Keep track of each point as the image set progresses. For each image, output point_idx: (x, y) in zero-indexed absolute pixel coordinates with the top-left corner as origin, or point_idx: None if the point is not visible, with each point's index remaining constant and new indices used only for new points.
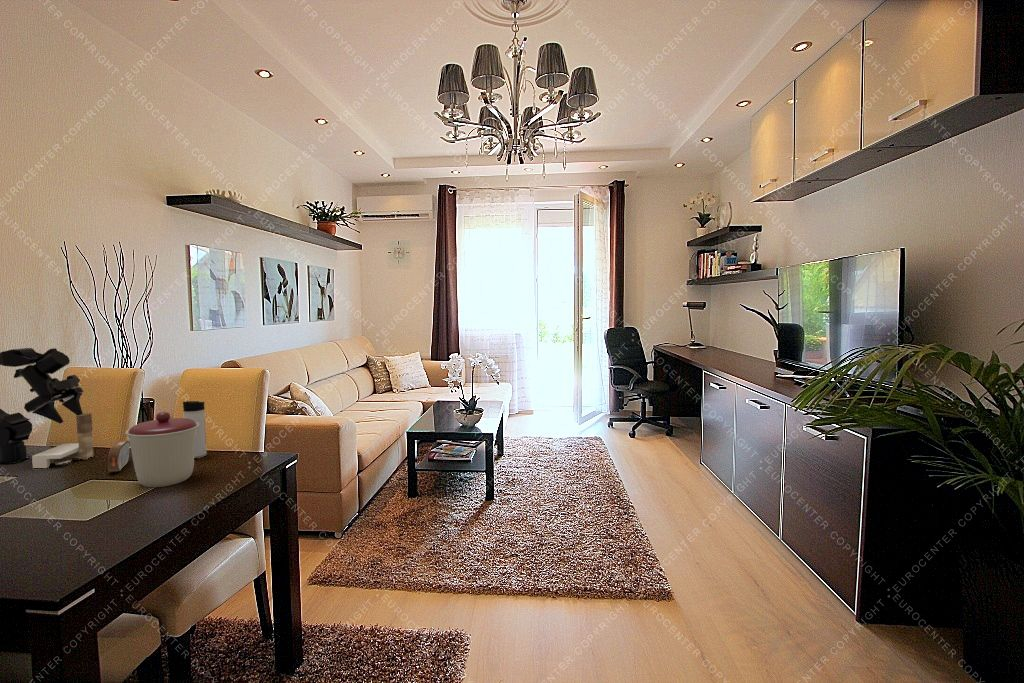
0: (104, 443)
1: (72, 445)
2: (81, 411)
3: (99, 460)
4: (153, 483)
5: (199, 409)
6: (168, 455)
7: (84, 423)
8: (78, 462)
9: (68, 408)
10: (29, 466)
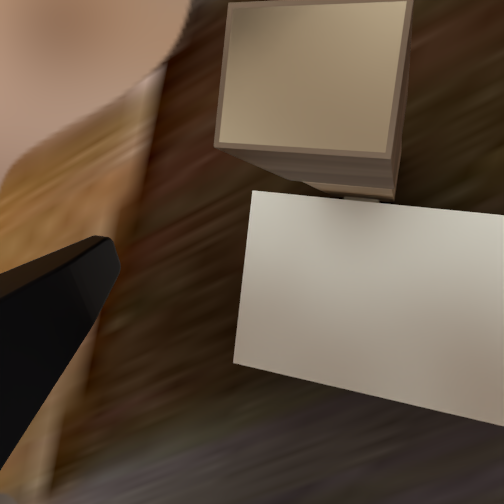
0: (48, 247)
1: (306, 279)
2: (58, 255)
3: (427, 70)
4: None
5: None
6: None
7: (408, 68)
8: (442, 186)
9: (1, 457)
10: (458, 448)
